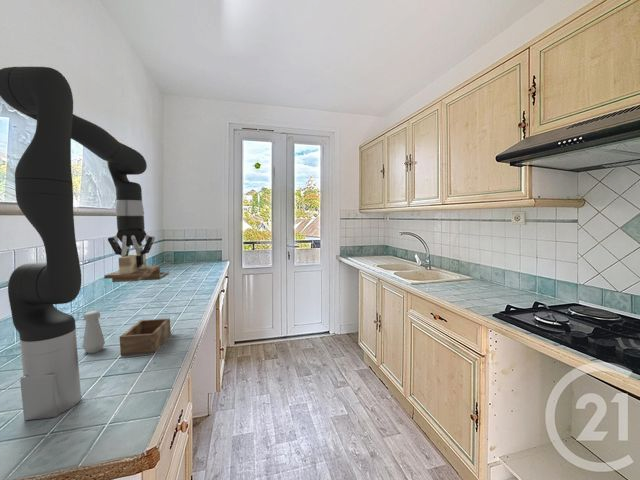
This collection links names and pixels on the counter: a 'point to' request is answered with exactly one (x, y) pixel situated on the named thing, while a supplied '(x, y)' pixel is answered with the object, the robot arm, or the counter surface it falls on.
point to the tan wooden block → (135, 270)
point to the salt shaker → (93, 333)
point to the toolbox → (145, 336)
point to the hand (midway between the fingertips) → (133, 266)
